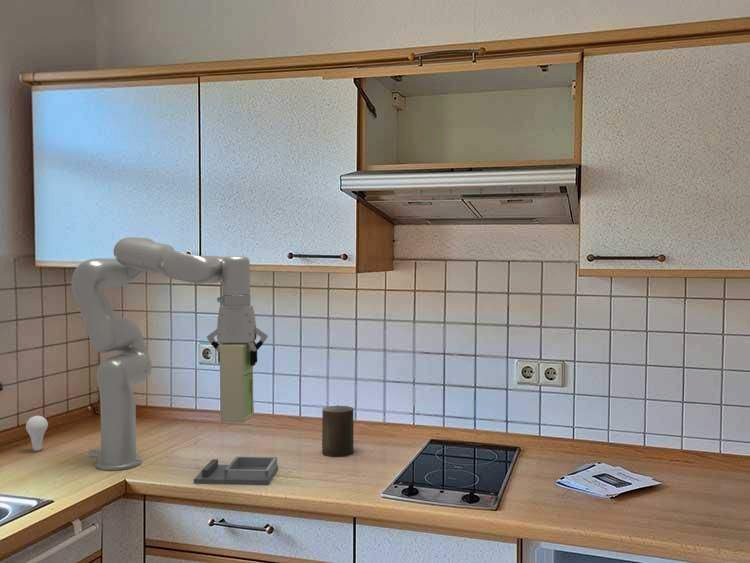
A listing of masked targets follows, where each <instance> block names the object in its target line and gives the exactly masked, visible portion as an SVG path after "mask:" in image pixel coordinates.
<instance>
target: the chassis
mask: <svg viewBox="0 0 750 563" xmlns="http://www.w3.org/2000/svg"><path fill="white" fill-rule="evenodd" d="M278 471H279V465H278V457H277V456H239V455H238V456H237V455H236V456H235V457H234V458H233V459H232V461H231V462H230V463H229V464H219V459H218V458H212V459H211V460H210V461H209V462H208V463H207V464H206V465H205V466H204V467H203V468H202V469H201V471H200V472H199V473H198V474H197V475H196V476H195V477H194V478H193V484H197V485H201V484H203V485H250V486H269V485H270V484H271V482H272V480H273V479H274V477H275V475H276V474H277V472H278Z"/></svg>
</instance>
